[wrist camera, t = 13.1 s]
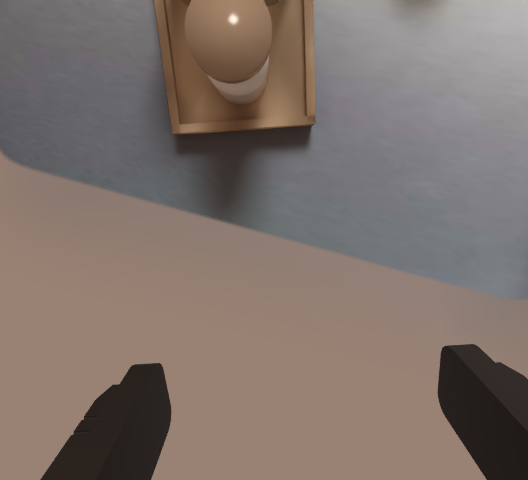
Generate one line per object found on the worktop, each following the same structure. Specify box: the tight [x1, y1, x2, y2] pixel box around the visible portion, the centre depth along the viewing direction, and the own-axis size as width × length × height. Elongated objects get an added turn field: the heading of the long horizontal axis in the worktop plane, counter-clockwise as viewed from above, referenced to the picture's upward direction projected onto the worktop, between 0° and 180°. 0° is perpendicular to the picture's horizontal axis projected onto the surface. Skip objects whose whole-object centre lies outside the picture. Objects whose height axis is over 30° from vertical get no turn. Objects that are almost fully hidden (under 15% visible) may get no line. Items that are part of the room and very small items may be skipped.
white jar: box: [184, 0, 272, 105], centre depth 25 cm, size 5×5×11 cm
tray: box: [154, 0, 315, 135], centre depth 29 cm, size 14×17×2 cm
